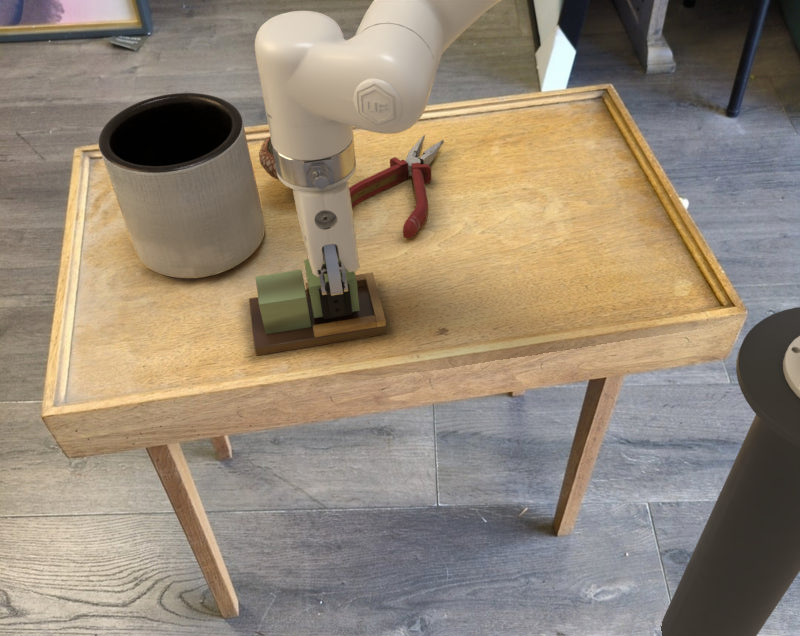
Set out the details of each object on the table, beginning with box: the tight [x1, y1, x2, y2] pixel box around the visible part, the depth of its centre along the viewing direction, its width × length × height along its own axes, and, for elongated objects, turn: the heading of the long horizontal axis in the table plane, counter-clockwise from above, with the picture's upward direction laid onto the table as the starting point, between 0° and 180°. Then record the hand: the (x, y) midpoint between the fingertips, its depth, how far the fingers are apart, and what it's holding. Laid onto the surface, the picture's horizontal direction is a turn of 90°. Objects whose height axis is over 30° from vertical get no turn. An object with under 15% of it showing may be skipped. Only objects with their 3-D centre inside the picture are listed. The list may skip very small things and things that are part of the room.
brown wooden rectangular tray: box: [248, 269, 388, 356], centre depth 91 cm, size 8×14×6 cm, turn 101°
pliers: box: [349, 134, 445, 240], centre depth 107 cm, size 12×20×3 cm, turn 156°
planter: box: [98, 92, 266, 279], centre depth 97 cm, size 16×16×16 cm
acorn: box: [258, 136, 293, 193], centre depth 105 cm, size 8×8×10 cm
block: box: [303, 258, 360, 318], centre depth 90 cm, size 4×5×4 cm
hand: (334, 298), depth 91 cm, fingers closed on block, 4 cm apart
